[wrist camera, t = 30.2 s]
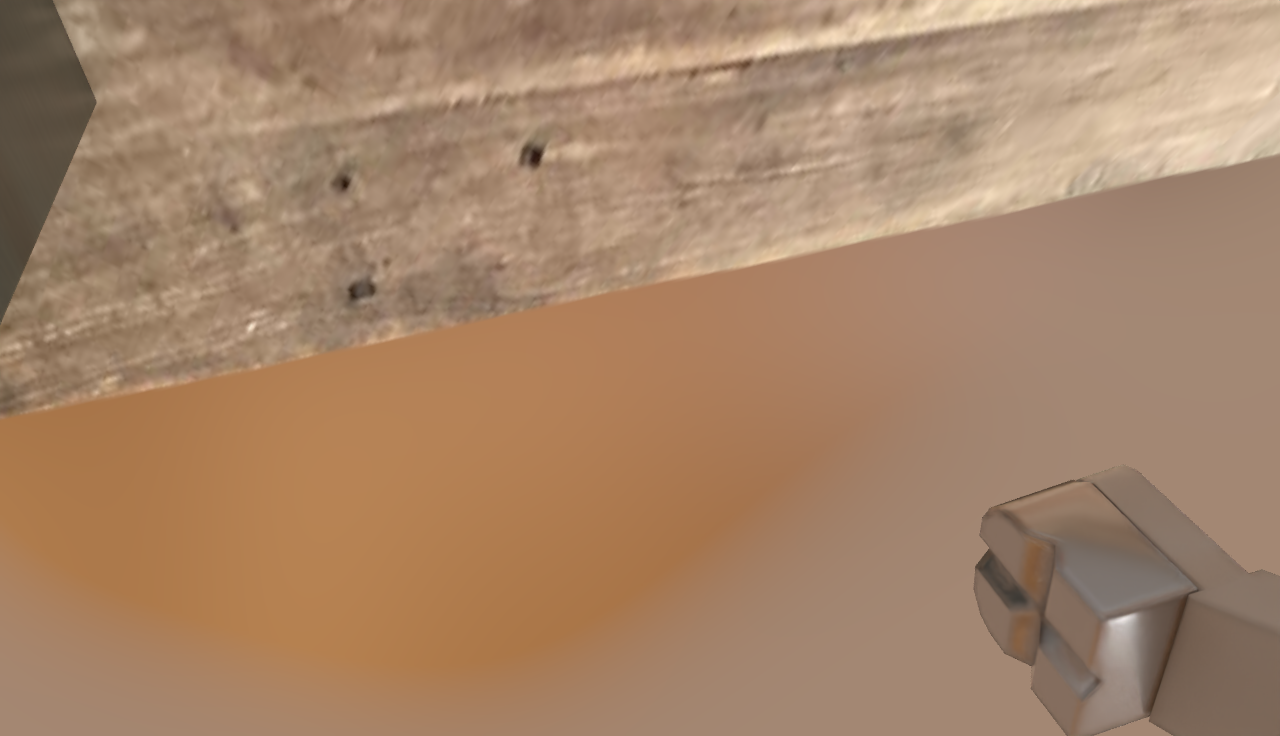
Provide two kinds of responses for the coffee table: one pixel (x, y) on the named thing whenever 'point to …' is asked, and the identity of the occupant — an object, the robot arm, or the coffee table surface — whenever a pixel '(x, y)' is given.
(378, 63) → the coffee table surface
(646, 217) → the coffee table surface
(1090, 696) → the robot arm
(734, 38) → the coffee table surface
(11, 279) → the stand
